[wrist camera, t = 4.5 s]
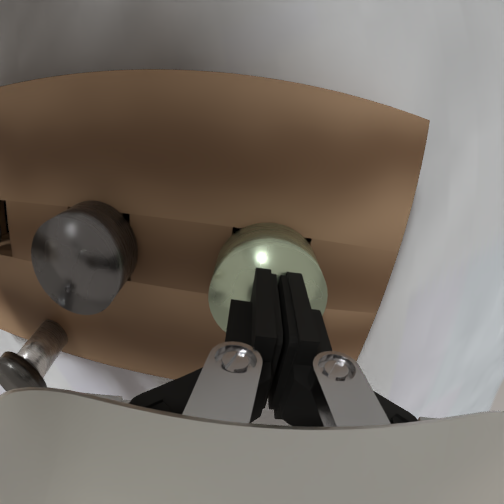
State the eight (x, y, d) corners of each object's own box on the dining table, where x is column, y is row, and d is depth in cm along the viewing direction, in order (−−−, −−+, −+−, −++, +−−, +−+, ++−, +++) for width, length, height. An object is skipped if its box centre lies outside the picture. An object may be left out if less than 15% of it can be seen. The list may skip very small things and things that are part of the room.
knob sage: (227, 199, 15) (213, 236, 10) (315, 212, 15) (341, 254, 11) (218, 277, 17) (204, 339, 12) (297, 288, 17) (311, 351, 12)
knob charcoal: (84, 184, 15) (25, 212, 10) (158, 191, 15) (114, 223, 10) (87, 257, 17) (39, 303, 12) (155, 268, 17) (120, 323, 12)
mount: (-29, 100, 12) (-58, 103, 10) (401, 119, 14) (429, 120, 11) (-11, 296, 19) (-31, 315, 16) (331, 363, 20) (339, 395, 17)
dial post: (30, 306, 15) (-15, 355, 10) (70, 317, 15) (28, 374, 11) (41, 345, 16) (5, 395, 12) (80, 357, 16) (46, 414, 12)
